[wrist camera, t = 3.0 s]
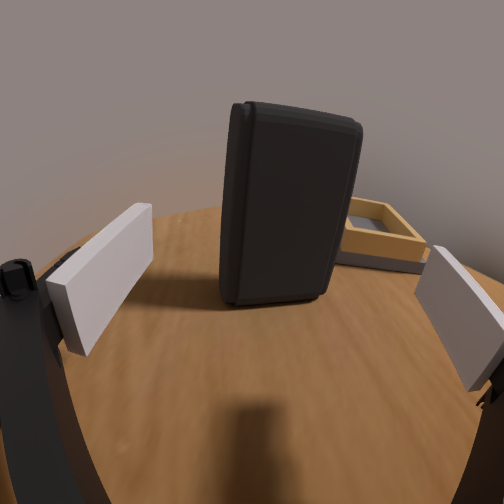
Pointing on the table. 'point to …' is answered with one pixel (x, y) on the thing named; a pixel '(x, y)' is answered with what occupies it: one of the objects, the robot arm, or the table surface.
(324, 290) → the card reader
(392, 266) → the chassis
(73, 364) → the table surface
